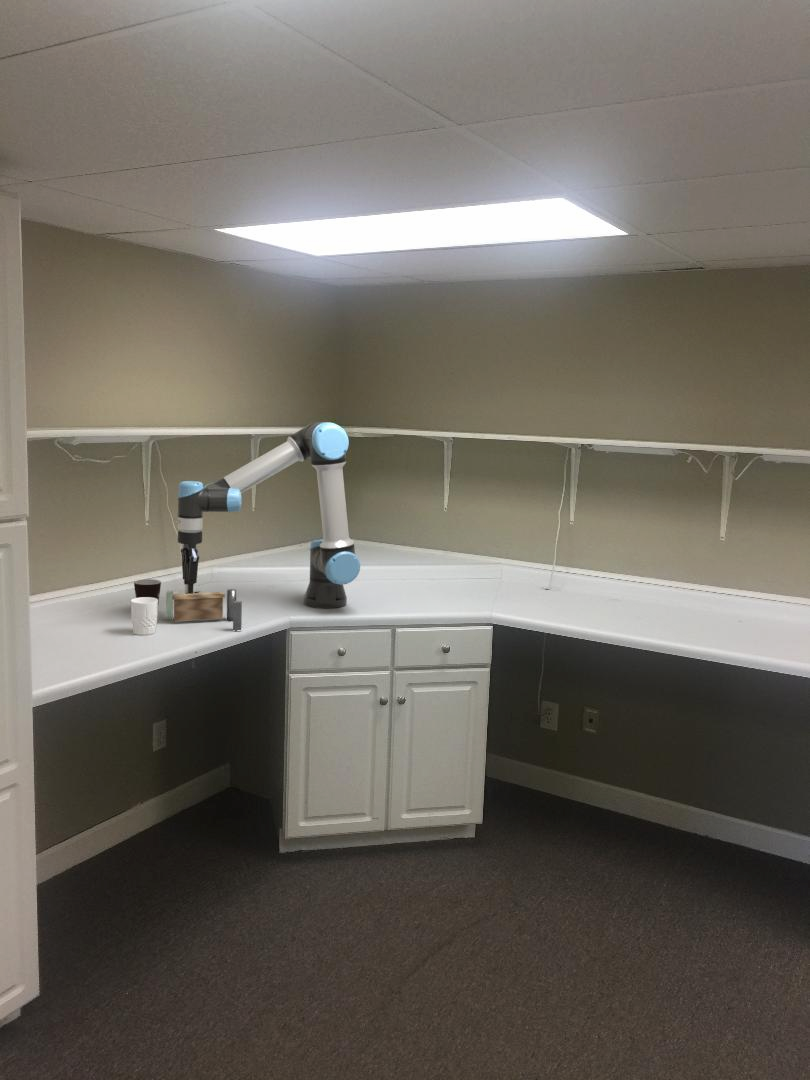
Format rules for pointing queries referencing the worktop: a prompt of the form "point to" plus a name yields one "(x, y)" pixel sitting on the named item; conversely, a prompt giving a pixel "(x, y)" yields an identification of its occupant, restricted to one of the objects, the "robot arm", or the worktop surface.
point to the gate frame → (232, 608)
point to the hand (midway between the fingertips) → (189, 603)
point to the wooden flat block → (198, 606)
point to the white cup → (144, 615)
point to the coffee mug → (147, 588)
